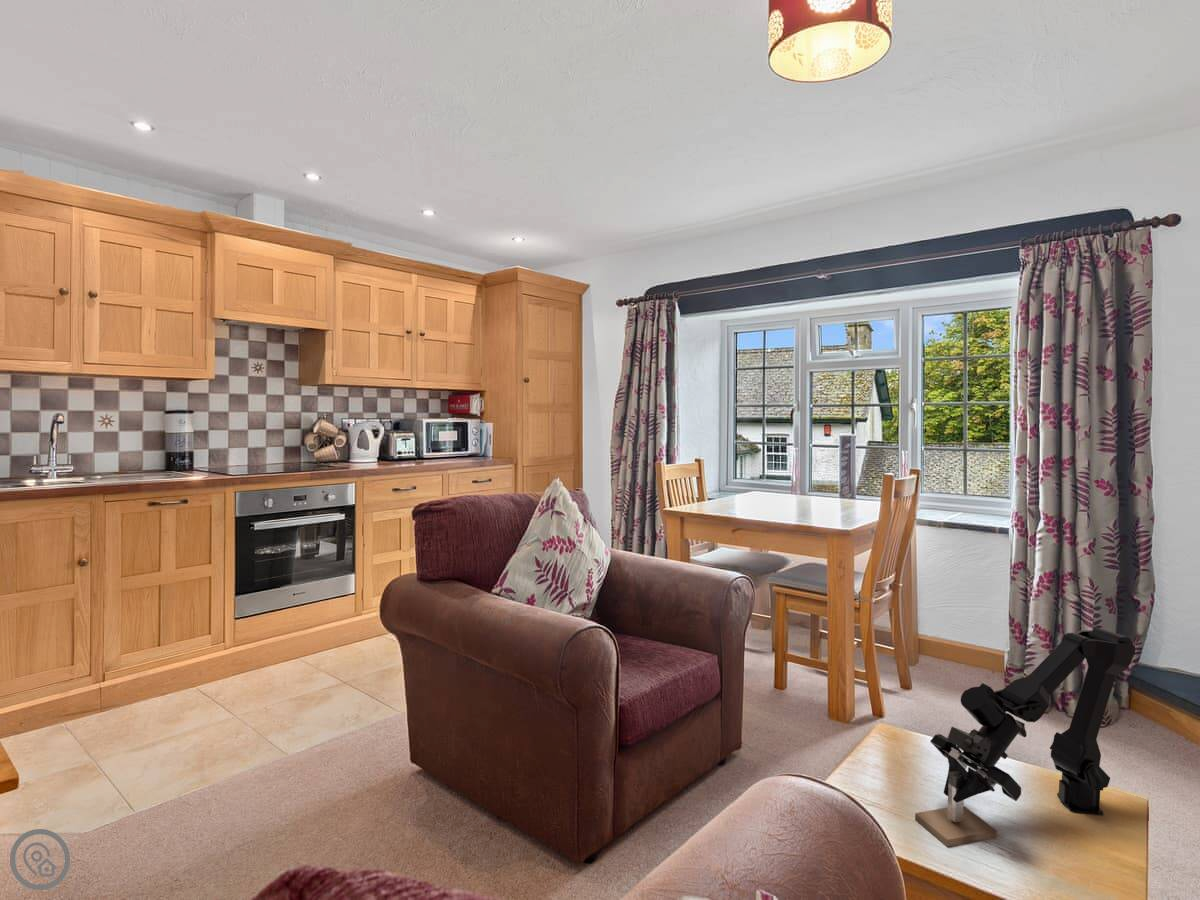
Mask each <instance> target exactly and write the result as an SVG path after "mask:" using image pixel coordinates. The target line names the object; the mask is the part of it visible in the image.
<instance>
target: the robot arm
mask: <svg viewBox="0 0 1200 900" xmlns="http://www.w3.org/2000/svg"><path fill="white" fill-rule="evenodd" d="M1135 653H1136V646H1135V645H1134V642H1133V641H1132V639H1131V638H1129V637H1127V636H1125V635H1123V634H1118V633H1116V632H1113V631H1110V630H1107V629H1105V628H1099V627H1097V628H1094V629H1093V630H1078V631H1077V632H1067V633H1065V634H1064V635H1063V636H1062V639H1061V642H1060V643H1059V644H1058V645H1057V646H1056V647H1055V648H1053V650H1052V651H1051V652H1050V653H1049V654H1048V656H1047V657H1045V658H1044V660H1043V661H1042V662H1040V664H1038V666H1037V667H1035V669H1034V670H1032V671H1031V673H1029V674H1028V675H1027V676H1025V677H1021V678H1018V679H1014V680H1013V681H1012V682H1010V683H1009V684H1008V685H1006V686H1005V687H1004V688H1003V689H1002V688H1001V689H998V690H996V691H994V689H993V688H992V687H991V686H989V685H987V684H986V683H984V682H982V683H981V684H980V685H979V686H973V687H970V688H968V689H965V690H964V691H963V692H962V694H961V696H960V704H961V706H963V708H964V709H965V710H966V711H967V712H968V713H969V714H970V716H972V718H973V719H974V720H975V721H976V723H978V724H979V725H981V727H980V728H979V730H977V729H975V728H974V729H972V730H970V731H969V732H966V731H963V730H962V729H960V728H956V727H955V726H951V727H950V729H949V730H950V731H949V733H948V736H947V737H946V736H945V735H942V734H941V733H937V734H934V736H933V737H932V738H931V739H930V743H931V744H932V745H933V746H934V747H935V749H936V750H937V751H938V752H939V754H941V755H942V756H943V757H944V758H946V759H947V762H948V771H947V777H946V780H945V785H944V789H943V794H944V795H945V796H946V797H948V783H949V772H953V771H958V772H959V773H961V774H962V775H964V782H963V784H962V785H961V786H960V788H959V789H958V791H957V792H956V794H955V796H954V797H953V800H954V801H955V802H960V801H962V800H964V801H965V800H967V799H970V798H971V797H972V798H973V797H974V796H977V795H978V794H979V795H980V794H983V793H986V792H989V791H991V792H994V793H995V791H996V789H995V786H996V785H999V786H1001V791H1002V793H1003V794H1004V795H1006V796H1007V797H1008V798H1009V799H1011V800H1012V801H1013V800H1014V801H1015V802H1017V801H1018V799H1019V798H1020V796H1021V795H1022V787H1021V786H1020V784H1019V783H1018V782H1017V781H1016V780H1015V779H1014V778H1013V777H1012V776H1011V775H1010V774H1009V773H1007V771H1004V770H1003V769H1001V768H999V767H997V766H996V764H997V763H998V762H999V761H1000V759H1001V758H1002V759H1003V760H1006V759H1007V758H1008V756H1009V755H1008V754H1007V753H1006V751H1007V749H1008V748H1009V747H1010V745H1011V744H1012V742H1013V741H1014V740H1015V738H1016V737H1017V735H1019V736H1021V737H1023V738H1026V737H1027V731H1026V727H1025V725H1026V724H1025V722H1027V723H1036V722H1038V721H1039V720H1040V719H1041V718H1042V717H1043V715H1044V714H1045V712H1046V711H1047V709H1048V708H1049V707H1050V701H1051V699H1050V698H1051V695H1052V694H1053V692H1054V691H1055V690H1056V689H1057V688H1058V687H1059V686H1060V685H1061V684H1062V683H1063V682H1065V680H1066V679H1067V678H1068V677H1069V676H1070V674H1071V673H1072V672H1073V671H1075V669H1076V668H1078V666H1079V665H1080V664H1081V663H1083V662H1084V660H1085V661H1086V664H1087V669H1086V673H1085V676H1084V679H1083V683H1082V685H1081V689H1080V692H1079V695H1078V698H1077V702H1076V706H1075V709H1074V712H1073V714H1072V719H1071V721H1070V725H1069V727H1068V729H1066V730H1064V731H1063V732H1061V733H1060V732H1056V733H1054V735H1053V741H1052V744H1051V745H1050V747H1049V749H1050V750H1051V751H1050V758H1051V760H1052V761H1053V763H1054V768H1055V770H1057V771H1059V772H1060V773H1061V779H1059V781H1058V782H1059V783H1058V792H1057V793H1056V796H1057V797H1058V798H1059V800H1060V801H1061V802H1062V803H1063V804H1064V805H1065V807H1066V808H1067V809H1068V810H1069V811H1070V812H1073V813H1082V814H1083V813H1084V814H1091V815H1101V816H1102V815H1104V811H1103V810H1102V809H1101V807H1100V804H1101V791H1104V788H1108V787H1109V784H1110V781H1111V777H1110V776H1109V775H1108V774H1107V772H1105V770H1103V768H1101V759H1102V754H1101V751H1100V747H1099V744H1098V741H1097V739H1098V736H1099V732H1100V729H1101V725H1102V723H1103V719H1104V716H1105V712H1106V710H1107V706H1108V703H1109V700H1110V697H1111V693H1112V690H1113V686H1114V683H1115V681H1116V677H1117V676H1119V675H1120V674H1121V673H1123V672H1124V671H1126V670H1127V669H1128V668H1129V667H1130V665H1131V662H1132V661H1133V658H1134V656H1135ZM1014 716H1015V717H1016V718H1018V719H1021V720H1023V721H1025V722H1022V721H1020V720H1018V719H1016V718H1015V717H1014Z"/></svg>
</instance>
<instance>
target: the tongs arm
mask: <svg viewBox="0 0 1200 900" xmlns="http://www.w3.org/2000/svg"><path fill="white" fill-rule="evenodd" d="M963 782H964V775H962V774H961V773H960V774H954V775H953V776H952V816H951V819H952V820H953V821H954V822H958V821H963V808H964V806H965V805H964V804H965V803H964V802H965V800H962V801H960V802H955V801H954V800H953V797H954V796H955V794H956V792H957V791H958V789H959V788H960V786H961V785H962V784H963Z"/></svg>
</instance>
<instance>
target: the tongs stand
mask: <svg viewBox="0 0 1200 900" xmlns="http://www.w3.org/2000/svg"><path fill="white" fill-rule="evenodd" d="M954 774H960V773H959V772H958V771H953V772H949V783H948V796H947V807H941V808H938V809H937V808H936V809H931V810H925V811H919V812H915V813H914V820H915V822H917V823H918V824H919V825H920V826H921V827H923V828H924V829H925V830H926V831H927V832H929V833H930V834H931V835H932V836H934V838H935V839H937V840H938V841H939V842H941V843H942V845H944V846H946V847H947V848H949V847H954V846H958V845H959V846H960V845H966V844H969V843H973V842H979V841H985V840H990V839H994V838H995V839H996V838H997V832H998V831H997V829H996V828H994V827H993V826H992V825H990V824H989V823H988V822H986V821H985V820H984V819H982V817H979V816H978V815H977V814H975V813H974V812H973V811H971V810H970V809H969V808H967V806H965V805H964V808H963V821H958V822H954V821H953V820H952V819H951V816H952V776H953V775H954Z"/></svg>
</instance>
